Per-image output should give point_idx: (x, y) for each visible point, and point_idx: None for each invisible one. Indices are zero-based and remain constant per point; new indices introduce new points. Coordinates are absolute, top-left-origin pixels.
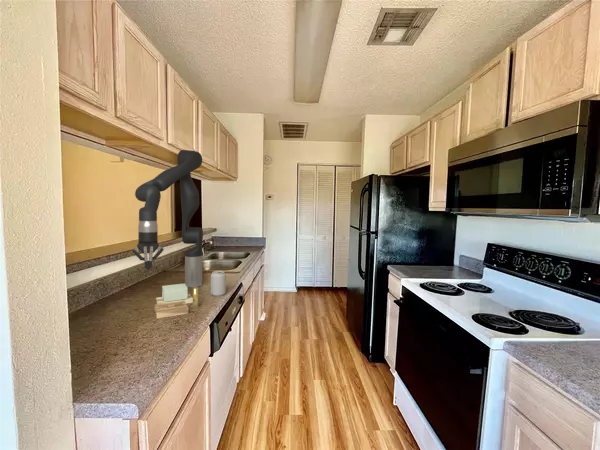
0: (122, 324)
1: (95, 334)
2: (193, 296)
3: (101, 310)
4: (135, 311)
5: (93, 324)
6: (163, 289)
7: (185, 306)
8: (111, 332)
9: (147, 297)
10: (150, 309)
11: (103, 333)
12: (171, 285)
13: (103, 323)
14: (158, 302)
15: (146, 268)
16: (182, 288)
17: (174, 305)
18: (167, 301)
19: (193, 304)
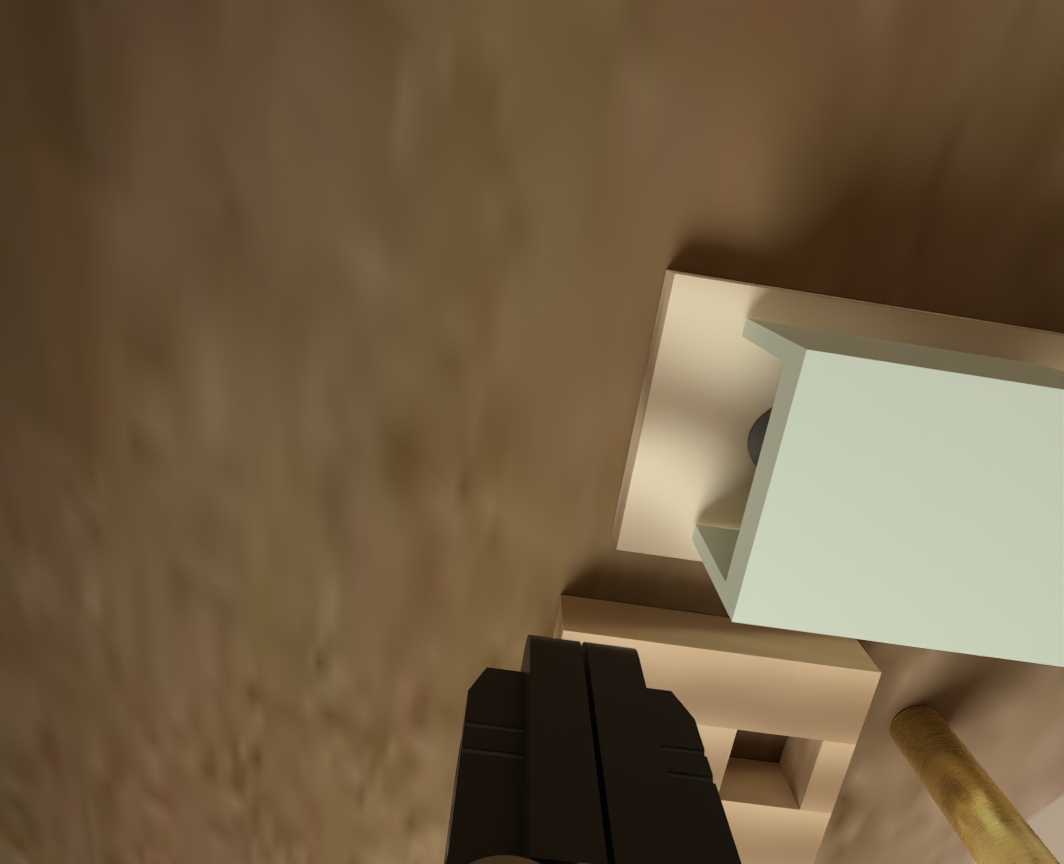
0: (255, 762)
1: (73, 834)
2: (963, 840)
3: (46, 259)
4: (386, 512)
5: (28, 636)
6: (747, 559)
7: (802, 836)
8: (179, 859)
9: (614, 14)
10: (531, 539)
11: (126, 846)
12: (941, 415)
13: (107, 659)
14: (641, 487)
15: (522, 673)
16: (988, 655)
17: (727, 757)
18: (739, 511)
19: (911, 764)
